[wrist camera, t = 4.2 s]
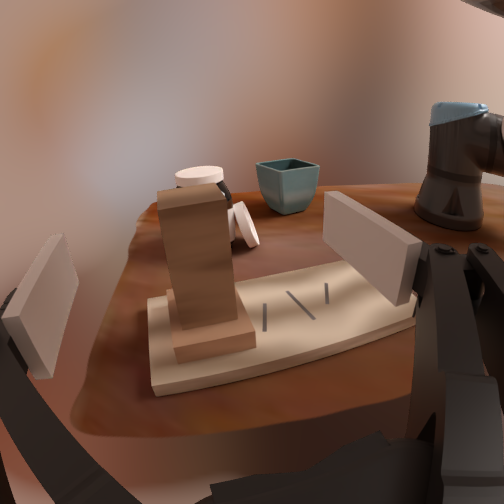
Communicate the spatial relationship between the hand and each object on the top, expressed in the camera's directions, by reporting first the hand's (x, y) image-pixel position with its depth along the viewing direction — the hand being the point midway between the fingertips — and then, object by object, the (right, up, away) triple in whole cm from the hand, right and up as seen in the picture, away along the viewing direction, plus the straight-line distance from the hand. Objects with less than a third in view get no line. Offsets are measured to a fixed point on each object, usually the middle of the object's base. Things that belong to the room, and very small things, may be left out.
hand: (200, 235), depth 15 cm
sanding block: (-2, -8, +16) cm, 18 cm away
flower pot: (+9, +7, +47) cm, 48 cm away
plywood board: (+6, -8, +18) cm, 21 cm away
